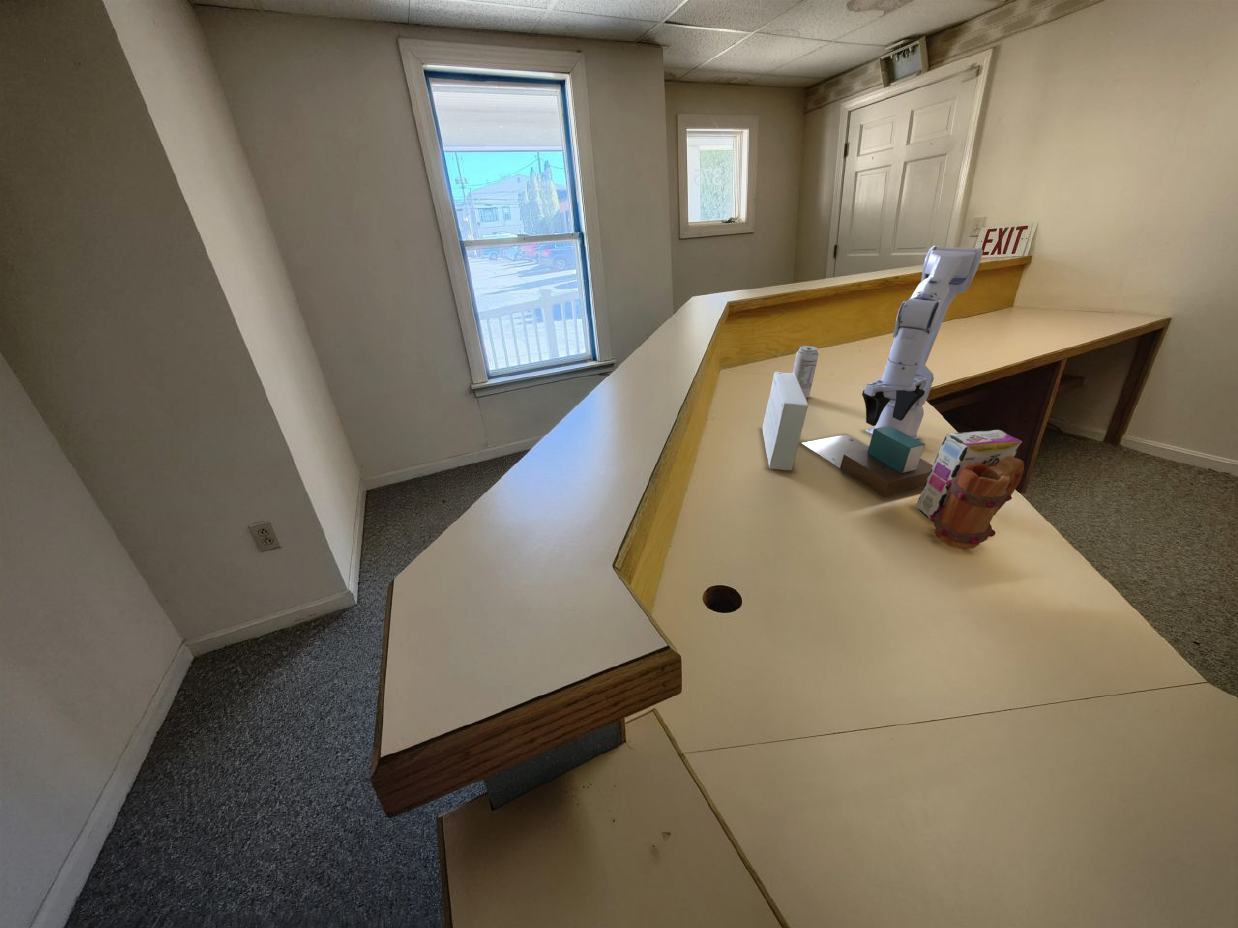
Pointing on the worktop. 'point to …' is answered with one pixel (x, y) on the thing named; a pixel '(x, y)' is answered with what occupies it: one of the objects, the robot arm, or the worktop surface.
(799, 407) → the skincare box
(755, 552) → the worktop surface
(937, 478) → the candy bar box
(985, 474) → the mug
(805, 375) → the energy drink can
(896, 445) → the teal box
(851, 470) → the step shelf
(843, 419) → the worktop surface
